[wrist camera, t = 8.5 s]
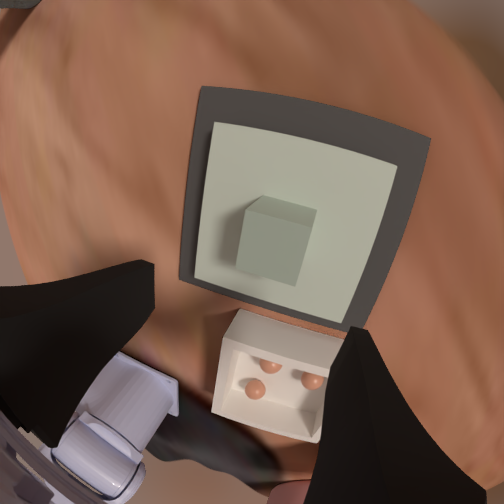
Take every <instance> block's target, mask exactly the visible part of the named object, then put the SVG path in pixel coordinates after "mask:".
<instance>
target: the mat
mask: <svg viewBox="0 0 504 504" xmlns="http://www.w3.org/2000/svg"><path fill="white" fill-rule="evenodd" d="M214 122H220V123H227V124H234V125H240V126H246V127H252V128H258V129H263V130H268V131H273V132H278V133H283V134H288V135H292V136H297V137H301V138H305V139H309V140H313V141H317V142H321V143H325V144H329V145H333V146H336V147H340V148H343V149H347V150H350V151H354V152H357V153H360V154H364V155H367V156H370V157H373V158H376V159H379V160H382V161H385V162H388V163H391V164H394V165H396V166H397V170H396V173H395V177H394V181H393V184H392V188H391V191H390V194H389V198H388V201H387V204H386V208H385V211H384V214H383V217H382V220H381V223H380V226H379V229H378V232H377V235H376V238H375V241H374V243H373V246H372V249H371V252H370V255H369V257H368V260H367V263H366V265H365V268H364V270H363V273H362V275H361V278H360V280H359V283H358V285H357V288H356V290H355V293H354V295H353V297H352V300H351V302H350V305H349V307H348V309H347V311H346V314H345V316H344V318H343V320H342V323H338V322H335V321H331V320H328V319H324V318H321V317H317V316H314V315H310V314H307V313H304V312H300V311H297V310H294V309H290V308H287V307H284V306H280V305H277V304H274V303H271V302H267V301H264V300H261V299H258V298H255V297H252V296H248V295H245V294H242V293H239V292H236V291H233V290H230V289H227V288H224V287H221V286H218V285H215V284H212V283H209V282H206V281H203V280H200V279H197V278H194V277H195V266H196V255H197V246H198V236H199V227H200V219H201V210H202V202H203V194H204V187H205V180H206V172H207V166H208V159H209V152H210V146H211V139H212V133H213V127H214ZM430 141H431V138H429V137H426V136H424V135H421V134H419V133H416V132H414V131H411V130H408V129H406V128H403V127H400V126H397V125H395V124H392V123H389V122H386V121H383V120H380V119H377V118H374V117H370V116H367V115H364V114H360V113H357V112H354V111H350V110H346V109H343V108H339V107H335V106H331V105H327V104H322V103H318V102H314V101H309V100H304V99H299V98H294V97H289V96H283V95H277V94H271V93H265V92H258V91H250V90H242V89H233V88H223V87H210V86H202V87H201V92H200V98H199V103H198V109H197V115H196V122H195V128H194V135H193V141H192V149H191V156H190V164H189V171H188V180H187V189H186V198H185V208H184V218H183V230H182V242H181V256H180V273H179V280H182V281H185V282H187V283H190V284H193V285H196V286H199V287H202V288H205V289H207V290H210V291H213V292H216V293H219V294H222V295H225V296H228V297H231V298H234V299H237V300H240V301H243V302H246V303H249V304H253V305H256V306H259V307H262V308H265V309H268V310H272V311H275V312H278V313H281V314H285V315H288V316H291V317H295V318H298V319H301V320H305V321H308V322H312V323H315V324H319V325H322V326H326V327H329V328H333V329H336V330H340V331H344V332H347V333H348V331H349V329H350V327H351V326H354V327H358V328H361V329H363V327H364V325H365V323H366V321H367V319H368V317H369V314H370V312H371V310H372V308H373V306H374V304H375V302H376V300H377V297H378V295H379V293H380V291H381V289H382V286H383V284H384V282H385V279H386V277H387V275H388V272H389V270H390V267H391V265H392V262H393V260H394V257H395V255H396V252H397V250H398V247H399V244H400V242H401V239H402V236H403V234H404V231H405V228H406V225H407V222H408V219H409V216H410V213H411V210H412V207H413V204H414V201H415V198H416V194H417V191H418V188H419V184H420V181H421V177H422V173H423V170H424V166H425V162H426V158H427V154H428V150H429V145H430Z"/></svg>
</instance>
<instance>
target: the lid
mask: <svg viewBox="0 0 504 504" xmlns="http://www.w3.org/2000/svg"><path fill="white" fill-rule="evenodd" d="M396 170H397V166H396V165H394V164H391V163H388V162H385V161H382V160H379V159H376V158H373V157H370V156H367V155H364V154H360V153H357V152H354V151H350V150H347V149H343V148H340V147H336V146H333V145H329V144H325V143H321V142H317V141H313V140H309V139H305V138H301V137H297V136H292V135H288V134H283V133H278V132H273V131H268V130H263V129H258V128H252V127H246V126H240V125H234V124H227V123H220V122H214V127H213V133H212V139H211V146H210V152H209V159H208V166H207V172H206V180H205V187H204V194H203V202H202V210H201V219H200V227H199V236H198V246H197V255H196V266H195V277H194V278H197V279H200V280H203V281H206V282H209V283H212V284H215V285H218V286H221V287H224V288H227V289H230V290H233V291H236V292H239V293H242V294H245V295H248V296H252V297H255V298H258V299H261V300H264V301H267V302H271V303H274V304H277V305H280V306H284V307H287V308H290V309H294V310H297V311H300V312H304V313H307V314H310V315H314V316H317V317H321V318H324V319H328V320H331V321H335V322H338V323H342V320H343V318H344V316H345V314H346V311H347V309H348V307H349V305H350V302H351V300H352V297H353V295H354V293H355V290H356V288H357V285H358V283H359V280H360V278H361V275H362V273H363V270H364V268H365V265H366V263H367V260H368V257H369V255H370V252H371V249H372V246H373V243H374V241H375V238H376V235H377V232H378V229H379V226H380V223H381V220H382V217H383V214H384V211H385V208H386V204H387V201H388V198H389V194H390V191H391V188H392V184H393V181H394V177H395V173H396Z"/></svg>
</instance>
